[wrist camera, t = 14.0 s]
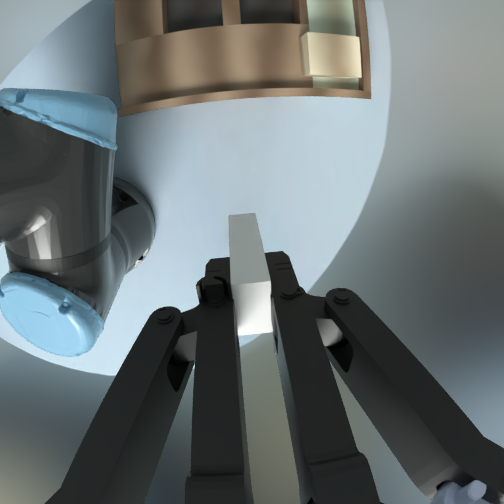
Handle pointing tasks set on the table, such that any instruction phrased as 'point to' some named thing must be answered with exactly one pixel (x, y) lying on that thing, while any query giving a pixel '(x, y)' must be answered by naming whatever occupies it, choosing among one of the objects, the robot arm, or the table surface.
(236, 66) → the track
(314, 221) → the table surface
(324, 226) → the table surface
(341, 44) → the block
